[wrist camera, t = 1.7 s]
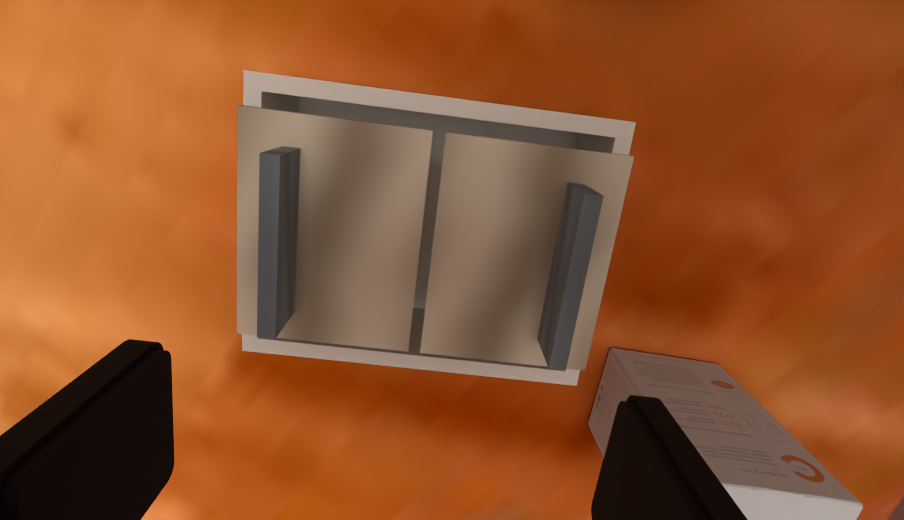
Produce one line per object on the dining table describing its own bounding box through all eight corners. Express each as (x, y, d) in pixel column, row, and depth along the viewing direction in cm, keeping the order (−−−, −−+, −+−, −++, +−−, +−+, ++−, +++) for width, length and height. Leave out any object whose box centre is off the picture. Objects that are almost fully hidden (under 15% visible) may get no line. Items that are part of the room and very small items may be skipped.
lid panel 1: (433, 130, 23) (431, 135, 20) (408, 346, 27) (403, 382, 23) (242, 105, 23) (207, 106, 20) (241, 328, 26) (210, 362, 23)
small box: (585, 423, 37) (656, 587, 25) (608, 344, 35) (698, 479, 23) (692, 439, 38) (815, 607, 25) (721, 362, 36) (869, 503, 23)
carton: (594, 117, 31) (637, 122, 24) (551, 331, 35) (577, 387, 28) (287, 76, 30) (242, 70, 23) (281, 301, 34) (241, 351, 27)
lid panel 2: (420, 347, 27) (416, 384, 23) (446, 131, 24) (446, 137, 20) (582, 364, 27) (602, 403, 24) (629, 155, 24) (660, 164, 21)
